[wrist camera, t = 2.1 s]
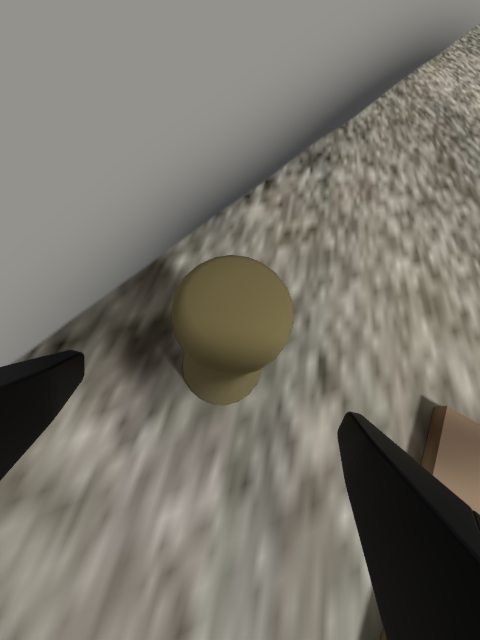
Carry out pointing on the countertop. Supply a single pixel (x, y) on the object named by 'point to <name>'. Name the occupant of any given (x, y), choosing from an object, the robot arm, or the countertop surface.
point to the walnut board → (454, 455)
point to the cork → (230, 325)
